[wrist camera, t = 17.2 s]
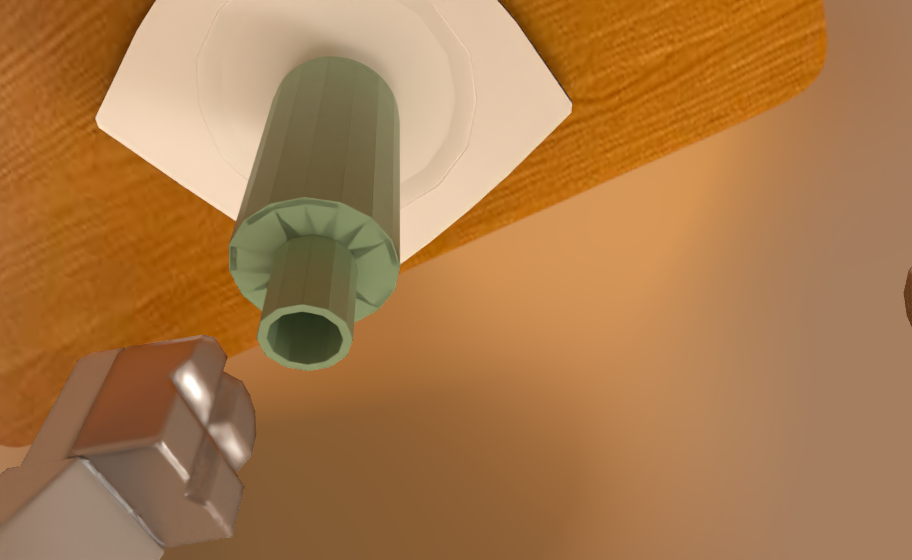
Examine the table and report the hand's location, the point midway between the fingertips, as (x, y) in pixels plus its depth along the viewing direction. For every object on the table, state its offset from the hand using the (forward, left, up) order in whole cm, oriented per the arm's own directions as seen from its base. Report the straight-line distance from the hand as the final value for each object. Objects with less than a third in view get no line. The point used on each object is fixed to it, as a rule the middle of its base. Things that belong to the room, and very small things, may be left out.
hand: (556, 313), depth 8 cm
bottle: (+8, +11, -29) cm, 32 cm away
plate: (+8, +11, -32) cm, 34 cm away
